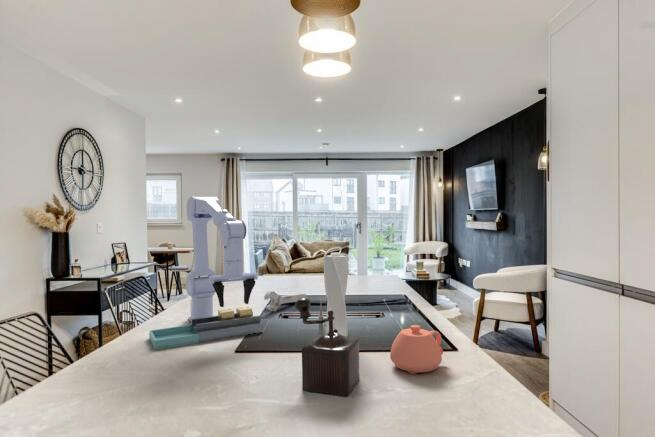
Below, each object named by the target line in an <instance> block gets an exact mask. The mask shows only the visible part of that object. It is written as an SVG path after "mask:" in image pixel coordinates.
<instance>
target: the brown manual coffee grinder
mask: <svg viewBox="0 0 655 437" xmlns="http://www.w3.org/2000/svg"><path fill="white" fill-rule="evenodd" d="M294 303H295V304H294V308H295V309H296V310H297V311H298V313H299V319H302V324H304V325H319V324H320V323H323V324H324V323H325V324H326V322H327V321H329V332H327V333H326V332H325V333H324V335H319V334H317V335H316V336H315V337H314V338H312V339H311V340H310V341H309V342H307V343H306V344H305V345H304V346H302V348H301V369H302V371H301V375H302V376H301V377H302V385H301V389H302V391H303V392H308V393H311V394H312V393H313V394H320V395H325V396H334V397H343V398H347V397H348V396H350V394H351V393H352V392H353V391H354V389H355V388H356V386H357V384H358V383H359V382H360V339H359V338H355V337H349V336H348V337H347V336H343V335H340V334H338V333H337V332H338V330H337V329H335V330H334V331H333V320H334V317H333V314H334V312H333V311H332V310H330V311H328V318H327V319H326V318H324V319H322V320H319V319H311V320H310V319H309V318H310V317H312V313H310V307H311V304H312V302H311V301H310V299H309V298H307V297H306V298H302V299H299V300H298V301H296V302H294Z"/></svg>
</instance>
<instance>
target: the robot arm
mask: <svg viewBox="0 0 655 437" xmlns="http://www.w3.org/2000/svg"><path fill="white" fill-rule="evenodd" d="M186 201H187V202H186V216H187V221H190V222H191V226H192V240H193V241H192V245H193V262H194V268H193V269H192V270H190V271H189V272H188V273H187V274H186V282H185V290H186V291H185V292H186V294H187V295H188V296H189V297H191V299H190V316H189V317H187V319H188V320H189V322H191V319H195V318H203V317H210V316H214V305H213V304H214V298H213V296H215V294H216V296H217V299H218V304H219V307H220V308H224V307H225V302H224V291H225V285H224V283H228V282H230V283H231V282H241V281H242V284H243V285H242V286H243V303H244V305H249V303H250V298H251V294H252V291H253V289H254V287H255V285H256V281H257V280H259V279H258V278H259V275H258V273H257V272H244V239H245V238H246V237H247V232H248V231H247V225H246V222H245V221H244V220H242V219H241V220H237V219H236V218H235V217H234V216H233V215H232V214H231V213H230V212H229V210H228V209H222V208H221V205H220V199H219V198H218V197H217V196H193V195H191V196H189V197H188V199H187V200H186ZM210 221H213V224H214V225H215V226H216V227H217V229H219V234H220V237H221V244H222V246H223V272H224V273H223V274H217V272H216V271H214V270H213V269H212V268H210V264H209V246H208V245H209V244H208V227H207V226H208V225H207V224H208V222H210Z"/></svg>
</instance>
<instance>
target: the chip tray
mask: <svg viewBox="0 0 655 437" xmlns="http://www.w3.org/2000/svg"><path fill="white" fill-rule="evenodd" d="M148 334H149V335H148V336H149V341H150V343H151V345H152V347H153V349H154V350H155V351H157V350H162V349H169V348H175V347H180V346H181V347H182V346H187V345H193V344H194V345H195V344H198V343H199V334H192V333H191V332H190V324H187V325H182V326H179V325H178V326H174V327H173V326H172V327H166V328H159V329H152V330H149V333H148ZM199 344H200V343H199Z"/></svg>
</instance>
